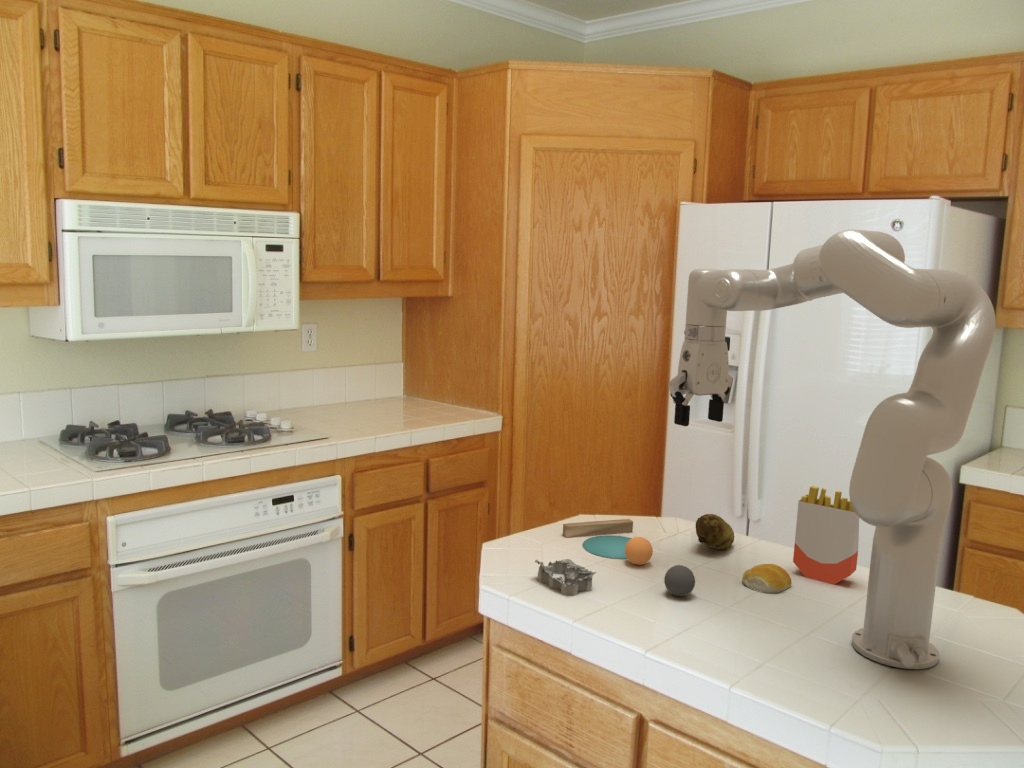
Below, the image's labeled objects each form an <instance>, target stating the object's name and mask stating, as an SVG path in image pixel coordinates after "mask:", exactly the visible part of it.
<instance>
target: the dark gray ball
mask: <svg viewBox="0 0 1024 768" xmlns="http://www.w3.org/2000/svg"><path fill="white" fill-rule="evenodd" d="M663 579H664V580H663V581H664V582H663V583H664V585H665V588H666V590H667V591H668V592H669V593H670V594H671V595H674V596H675V597H685V596H687V595H689V594H691V592H692V591H693V590H694V588H695V585H696V577H695V575H694V572H693V571H692V570H691V569H690V568H689V567H687V566H685V565H681V564H678V565H673V566H671V567H670V568H669V569H667V571H666V572H665V574H664V578H663Z"/></svg>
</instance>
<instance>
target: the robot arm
mask: <svg viewBox="0 0 1024 768" xmlns="http://www.w3.org/2000/svg"><path fill="white" fill-rule="evenodd" d="M905 258H906V255H905V250H904V248H903V246H902V244H901V242H900V241H899V240H898V239H897V238H895V237H894V236H892V235H891V234H889V233H887V232H886V233H885V232H884V231H882V232H881V231H875V230H862V229H844V230H842V231H838V232H837V233H834V234H833V235H832V236H830V237H829V238H827V240H826V241H824V243H823V244H821V245H817V246H814V247H808V248H805V249H803V250H800V251H799V252H798V253H797V254H796V255H795V257H794V259H793V261H792V263H790V264H786V265H782V266H777V267H773V268H768V269H748V268H747V269H734V268H733V269H732V268H731V269H730V268H729V269H710V268H709V269H708V268H696V269H693V270H692V271H691V272H690V273H689V275H688V282H687V283H688V284H687V299H686V309H685V310H686V311H685V312H686V314H685V326H684V331H683V335H684V338H683V339H684V341H683V342H682V344H681V345H682V347H681V349H680V355H679V361H678V368H677V375H676V376H674V378H672V379H670V380H669V382H667V385H668V389H669V391H670V397H671V399H672V403H674V404H675V406H674V418H673V419H674V422H673V423H674V424H675V425H678V426H682V427H688V426H689V425H690V416H691V414H690V413H691V405H688V404H689V403H690V401H691V400H692V398H693V396H694V395H695V396H699V397H700V396H701V397H702V396H710V397H711V399H709V401H708V412H707V419H708V420H710V421H713V422H719V423H722V422H723V420H724V407H725V406H724V405H725V402H726V401H727V396H728V395H729V393H730V391H731V386H732V384H733V381H734V378H733V377H732V376H731V375H730V374H729V371H730V368H729V365H730V364H729V350H728V344H727V342H726V330H727V317H728V316H727V314H728V312H745V311H747V312H749V311H751V312H752V311H753V312H754V311H755V312H756V311H758V312H760V311H763V312H764V311H769V310H770V311H771V310H776V309H780V308H785V307H790V306H795V305H799V304H804V303H806V302H811V301H814V300H816V299H820V298H821V299H822V298H825V297H829V296H833V295H834V296H835V295H838V294H839V295H840V294H845V295H846V296H847V297H849V298H851V299H852V300H853V301H854V302H856V303H857V304H858V305H860V306H861V307H863V308H865V310H867V311H869V312H870V313H871V314H873V315H875V316H876V317H877V318H879V319H881V320H882V321H884V322H885V323H888V324H889V325H892V326H895V327H899V328H905V329H912V328H932V335H931V337H930V339H929V341H928V342H927V344H926V345H925V347H924V349H923V351H922V353H921V354H920V356H919V359H918V362H917V366H916V370H915V373H914V375H913V379H912V382H911V385H910V387H909V389H908V391H907V392H902V393H897V394H893V395H890V396H889V397H887V398H885V399H882V401H880V402H879V404H878V405H876V406H875V408H874V409H873V410H872V412H871V414H870V415H869V418H867V419H868V420H867V421H866V425H865V428H864V430H863V434H862V437H861V441H860V446H859V448H858V451H857V455H856V458H855V461H854V465H853V468H852V471H851V476H850V481H849V490H848V494H849V495H848V496H849V501H850V502H851V505H852V507H853V509H854V511H855V513H856V514H857V515H858V516H859V520H860V519H861V520H862V522H864V523H866V524H868V525H871V526H873V527H875V529H874V534H873V537H872V545H871V555H870V564H869V571H868V572H869V573H868V581H867V593H866V602H865V610H864V611H865V612H864V620H863V622H864V623H863V628H860V629H858V630H856V631H854V632H853V633H852V634H851V645H852V647H853V648H854V650H855V651H856V652H858V653H860V655H862V656H864V657H865V658H867V659H869V660H871V661H874V662H876V663H879V664H881V665H882V664H883V665H885V666H888V667H893V668H898V669H903V670H904V669H905V670H924V669H928V668H932V667H934V666H935V665H937V663H938V662H939V656H940V654H939V653H940V652H939V650H938V649H937V647H936V646H934V645H933V643H931V642H930V637H931V628H932V623H933V622H932V621H933V611H934V603H935V597H936V586H937V577H938V569H939V563H940V553H941V548H942V541H943V535H944V531H945V527H946V522H947V519H948V515H949V512H950V510H951V505H952V501H953V493H954V492H953V490H954V489H953V483H952V479H951V476H950V474H949V473H948V471H947V470H946V468H945V467H944V466H943V465H942V464H941V463H940V462H938V461H937V460H935V459H934V458H930V457H928V456H930V455H936V454H939V453H942V452H945V451H948V450H951V449H952V448H953V447H956V445H957V444H959V442H960V441H961V440H962V437H963V435H964V433H965V429H966V427H967V423H968V419H969V416H970V413H971V409H972V408H973V404H974V401H975V397H976V395H977V391H978V388H979V384H980V381H981V377H982V374H983V371H984V368H985V364H986V361H987V359H988V357H989V354H990V353H989V352H990V349H991V347H992V344H993V340H994V337H995V332H996V331H995V330H996V315H995V309H994V305H993V303H992V301H991V299H990V297H989V295H988V294H987V292H986V290H984V288H982V286H981V285H980V284H978V282H976V281H975V280H973V279H972V278H971V277H968V276H967V275H965V274H963V273H960V272H957V271H952V270H949V269H948V270H947V269H939V268H938V269H936V268H935V269H934V268H933V269H931V268H930V269H927V268H926V269H924V268H913V267H911V266H910V265H909V264H906V263H905V261H906V259H905Z"/></svg>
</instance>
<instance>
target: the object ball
mask: <svg viewBox="0 0 1024 768" xmlns="http://www.w3.org/2000/svg"><path fill="white" fill-rule="evenodd" d="M631 538H632V539H630V540H629V541H628V542H627V544H626V546H625V555H626V557H627V559H626V560H628V561H629V562H630V563H632V564H633V565H637V566H642V565H645V564H647V563H649V561H650V560H651V559H652V557H653V551H654V549H653V546H652V544H651V541H649V540H648V539H647V538H645V537H641V536H634V537H631Z"/></svg>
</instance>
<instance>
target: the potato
mask: <svg viewBox="0 0 1024 768" xmlns="http://www.w3.org/2000/svg"><path fill="white" fill-rule="evenodd" d="M695 533H696V536H697V538H698V539H697V540H698V542H699V543H700V544H705V545H706V546H707V547H710V548H714V549H716V550H727V549H729V548H730V547H731V546H732V545H733V544H734V542H735V532H734V530H733V528H732V526H731V525H730V524H729V523H728V522H727V521H725V519H724V518H722V517H721V516H719V515H717V514H714V513H706V514H703V515H701V516H699V517H698V518H697V519H696V521H695Z"/></svg>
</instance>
